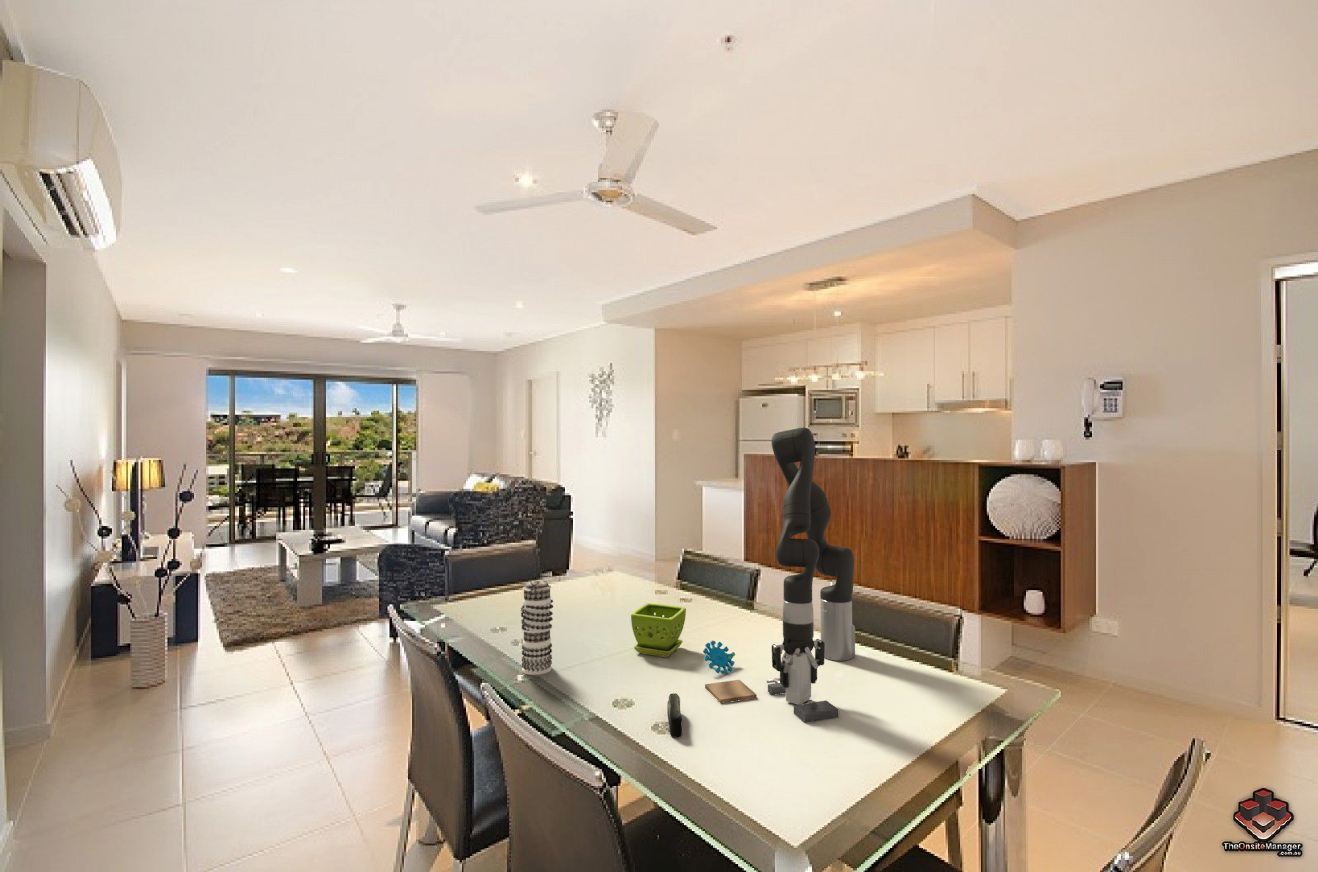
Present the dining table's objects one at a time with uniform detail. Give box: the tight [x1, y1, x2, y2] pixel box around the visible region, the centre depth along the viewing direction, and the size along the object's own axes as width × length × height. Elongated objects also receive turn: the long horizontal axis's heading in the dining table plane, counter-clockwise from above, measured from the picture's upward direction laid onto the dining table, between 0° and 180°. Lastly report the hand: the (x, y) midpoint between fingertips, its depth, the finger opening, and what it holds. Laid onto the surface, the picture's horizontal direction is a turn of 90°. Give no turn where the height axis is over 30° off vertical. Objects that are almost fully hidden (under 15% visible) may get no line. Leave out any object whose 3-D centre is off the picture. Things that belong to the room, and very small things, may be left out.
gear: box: [702, 640, 736, 675], centre depth 171 cm, size 11×6×10 cm
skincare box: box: [785, 653, 812, 705], centre depth 149 cm, size 6×4×12 cm
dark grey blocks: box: [766, 677, 839, 724], centre depth 149 cm, size 9×22×2 cm, turn 18°
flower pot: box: [630, 602, 687, 659], centre depth 186 cm, size 14×14×13 cm
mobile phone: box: [666, 693, 683, 738], centre depth 138 cm, size 5×3×15 cm
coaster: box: [704, 679, 758, 704], centre depth 154 cm, size 10×10×1 cm
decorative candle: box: [520, 579, 554, 676], centre depth 171 cm, size 9×9×25 cm
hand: (798, 684), depth 149 cm, fingers closed on skincare box, 7 cm apart
